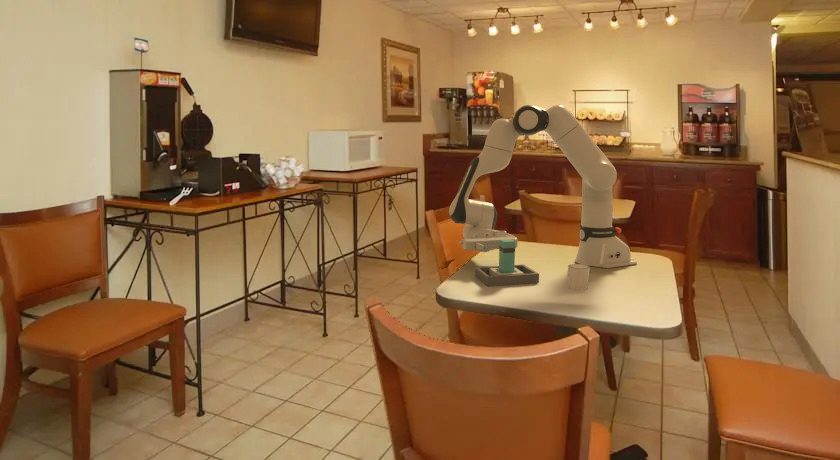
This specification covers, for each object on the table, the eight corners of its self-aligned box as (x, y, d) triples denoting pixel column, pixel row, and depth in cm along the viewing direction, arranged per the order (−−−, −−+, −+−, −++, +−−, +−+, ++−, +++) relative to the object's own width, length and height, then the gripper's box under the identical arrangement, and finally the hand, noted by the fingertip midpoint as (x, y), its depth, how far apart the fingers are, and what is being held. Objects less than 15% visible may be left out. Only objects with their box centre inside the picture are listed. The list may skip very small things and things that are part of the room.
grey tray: (523, 272, 200) (523, 264, 199) (538, 282, 187) (539, 273, 187) (475, 275, 196) (475, 267, 195) (487, 286, 183) (487, 277, 183)
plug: (509, 275, 194) (510, 238, 192) (514, 278, 190) (515, 241, 188) (498, 276, 193) (499, 239, 191) (502, 279, 189) (503, 241, 187)
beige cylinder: (590, 290, 178) (591, 269, 177) (567, 289, 179) (568, 268, 178) (588, 284, 184) (589, 263, 183) (566, 283, 186) (567, 263, 185)
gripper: (457, 232, 209) (469, 240, 195) (509, 230, 213) (524, 237, 200) (457, 249, 210) (469, 257, 197) (508, 246, 214) (523, 254, 201)
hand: (497, 247), depth 198 cm, fingers open, 8 cm apart
